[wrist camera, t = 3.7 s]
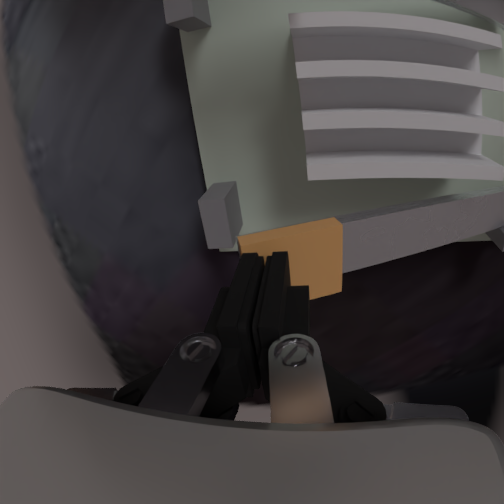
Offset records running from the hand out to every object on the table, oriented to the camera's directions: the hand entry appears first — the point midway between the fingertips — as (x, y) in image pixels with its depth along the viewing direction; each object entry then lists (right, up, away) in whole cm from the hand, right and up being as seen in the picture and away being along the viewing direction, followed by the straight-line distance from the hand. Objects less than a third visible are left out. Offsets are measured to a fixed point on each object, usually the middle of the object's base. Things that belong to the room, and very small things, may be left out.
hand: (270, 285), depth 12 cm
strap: (+8, +3, +3) cm, 9 cm away
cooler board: (+7, +11, +4) cm, 14 cm away
